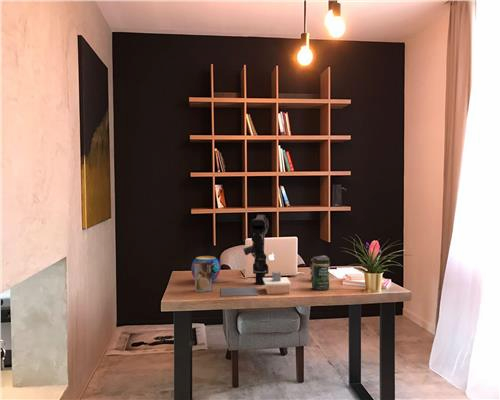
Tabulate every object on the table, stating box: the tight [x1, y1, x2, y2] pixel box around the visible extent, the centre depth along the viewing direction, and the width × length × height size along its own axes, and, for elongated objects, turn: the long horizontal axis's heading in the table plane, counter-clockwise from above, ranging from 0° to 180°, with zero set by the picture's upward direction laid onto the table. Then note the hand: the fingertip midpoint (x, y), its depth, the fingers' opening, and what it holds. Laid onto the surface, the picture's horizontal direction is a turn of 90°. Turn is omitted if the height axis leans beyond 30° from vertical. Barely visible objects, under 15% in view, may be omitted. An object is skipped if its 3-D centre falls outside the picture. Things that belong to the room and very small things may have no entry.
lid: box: [263, 271, 292, 287], centre depth 234 cm, size 14×14×6 cm
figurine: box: [309, 255, 330, 280], centre depth 259 cm, size 9×12×15 cm
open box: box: [264, 285, 290, 295], centre depth 235 cm, size 12×12×5 cm
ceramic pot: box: [191, 255, 221, 282], centre depth 257 cm, size 18×18×15 cm
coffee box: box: [194, 261, 213, 293], centre depth 237 cm, size 9×6×16 cm
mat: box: [220, 286, 259, 297], centre depth 233 cm, size 17×20×1 cm
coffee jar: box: [311, 255, 331, 291], centre depth 239 cm, size 10×8×19 cm
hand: (258, 268), depth 238 cm, fingers open, 9 cm apart
